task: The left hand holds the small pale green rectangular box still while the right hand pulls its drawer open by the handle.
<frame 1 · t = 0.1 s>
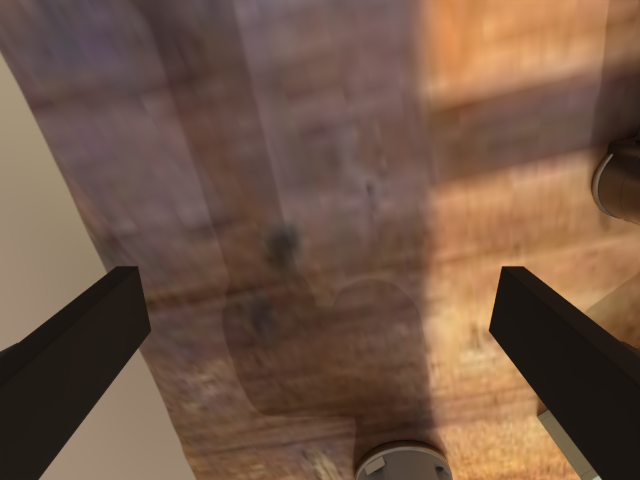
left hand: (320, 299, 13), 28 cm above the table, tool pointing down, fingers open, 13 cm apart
pale green rectangular box: (612, 399, 51), on the table
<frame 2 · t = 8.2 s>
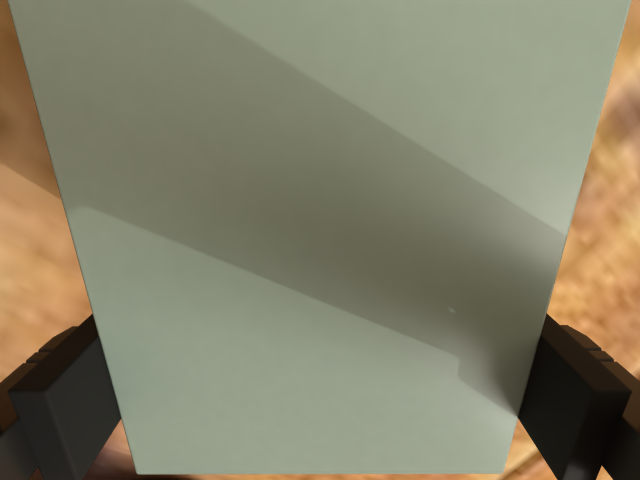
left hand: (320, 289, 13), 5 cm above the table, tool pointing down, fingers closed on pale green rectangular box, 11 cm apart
pale green rectangular box: (319, 124, 16), on the table, touching left hand
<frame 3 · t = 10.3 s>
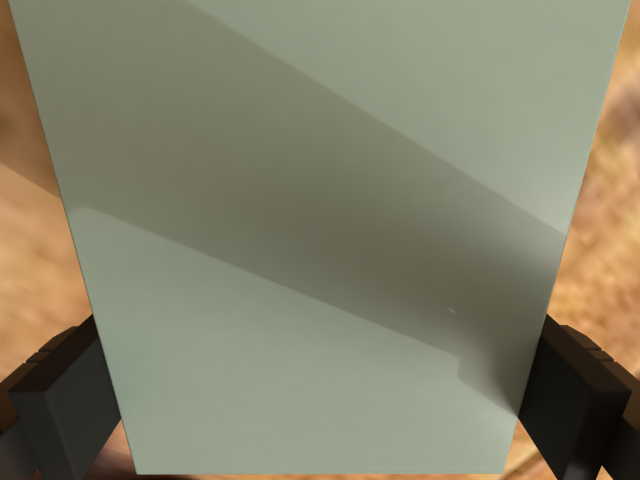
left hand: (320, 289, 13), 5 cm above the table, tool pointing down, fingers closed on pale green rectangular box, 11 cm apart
pale green rectangular box: (319, 124, 16), on the table, touching left hand
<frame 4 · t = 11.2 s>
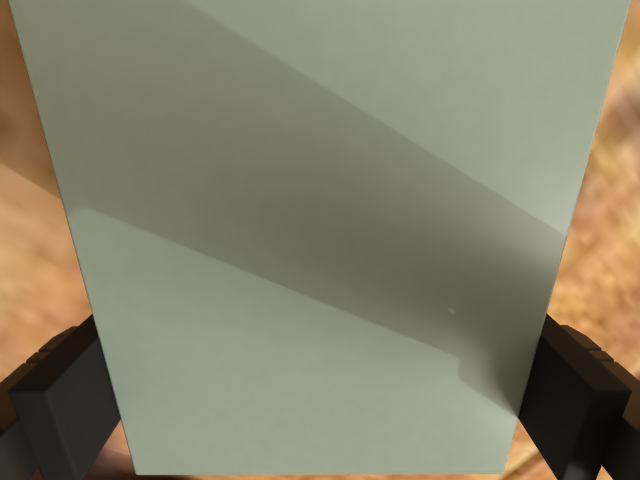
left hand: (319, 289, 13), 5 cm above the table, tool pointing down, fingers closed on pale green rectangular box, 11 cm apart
pale green rectangular box: (319, 124, 16), on the table, touching left hand
when the left hand's fingers open (5 cm above the table, at t = 13.1 s): pale green rectangular box stays where it is, on the table.
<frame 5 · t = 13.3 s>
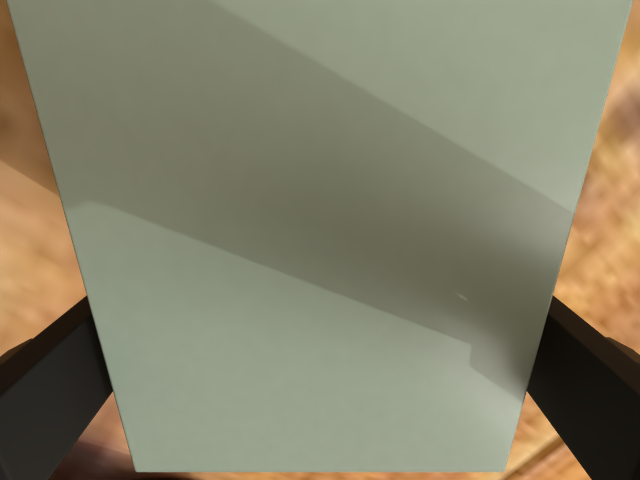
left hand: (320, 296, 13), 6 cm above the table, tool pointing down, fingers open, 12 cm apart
pale green rectangular box: (319, 121, 16), on the table
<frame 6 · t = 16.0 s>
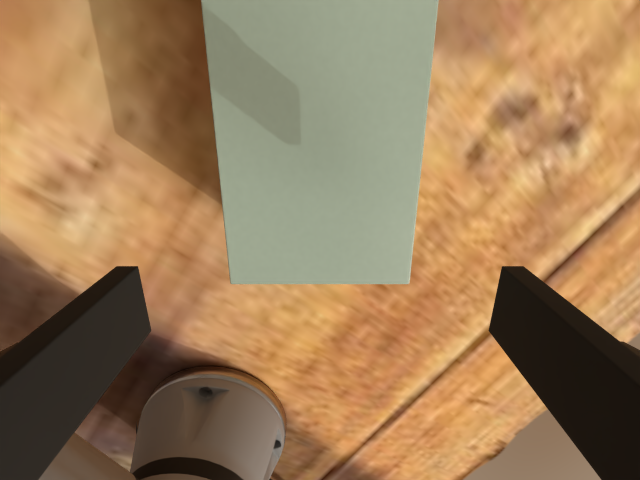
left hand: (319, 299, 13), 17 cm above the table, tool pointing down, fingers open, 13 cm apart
pale green rectangular box: (319, 115, 27), on the table
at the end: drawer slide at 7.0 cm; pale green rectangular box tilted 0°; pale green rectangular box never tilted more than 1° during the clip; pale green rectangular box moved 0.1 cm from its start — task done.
